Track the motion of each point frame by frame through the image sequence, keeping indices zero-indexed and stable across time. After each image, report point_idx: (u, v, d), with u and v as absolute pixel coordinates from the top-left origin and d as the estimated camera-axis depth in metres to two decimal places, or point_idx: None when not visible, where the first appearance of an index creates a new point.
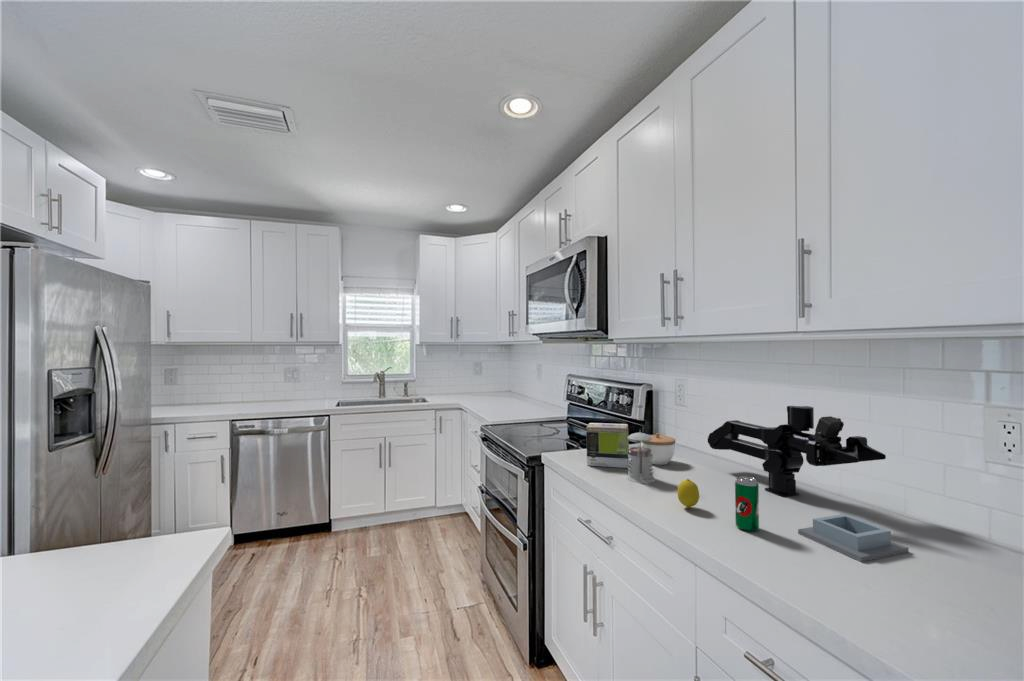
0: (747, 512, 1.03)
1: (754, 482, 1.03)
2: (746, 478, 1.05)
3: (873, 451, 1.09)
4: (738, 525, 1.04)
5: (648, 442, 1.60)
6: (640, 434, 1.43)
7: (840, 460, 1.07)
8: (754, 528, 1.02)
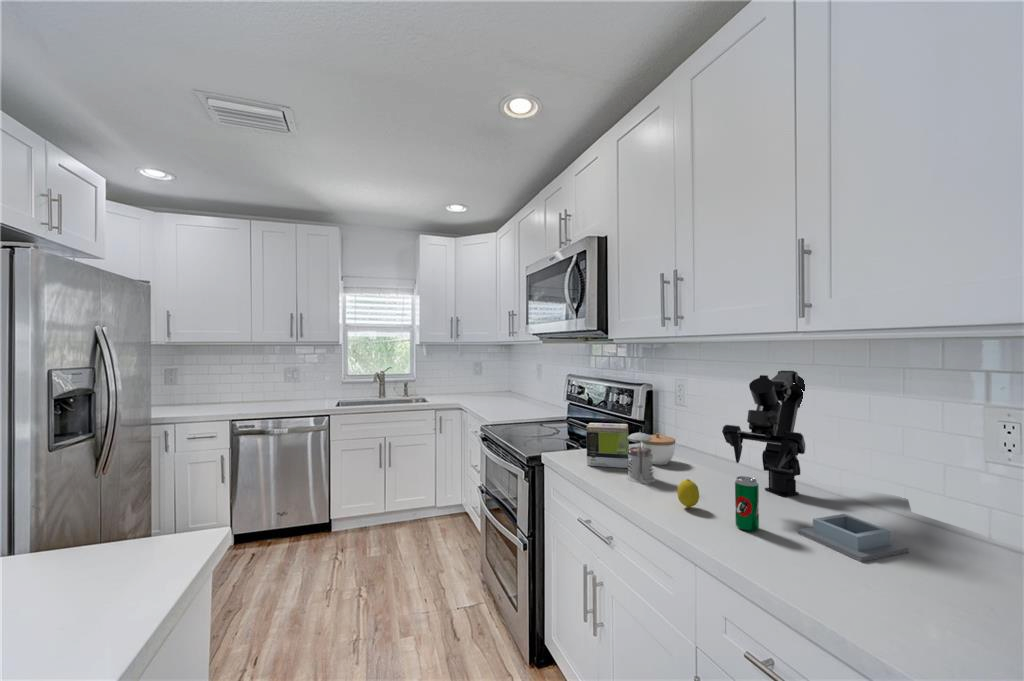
0: (747, 512, 1.03)
1: (754, 482, 1.03)
2: (746, 478, 1.05)
3: (778, 458, 1.09)
4: (738, 525, 1.04)
5: (648, 442, 1.60)
6: (640, 434, 1.43)
7: None
8: (754, 528, 1.02)
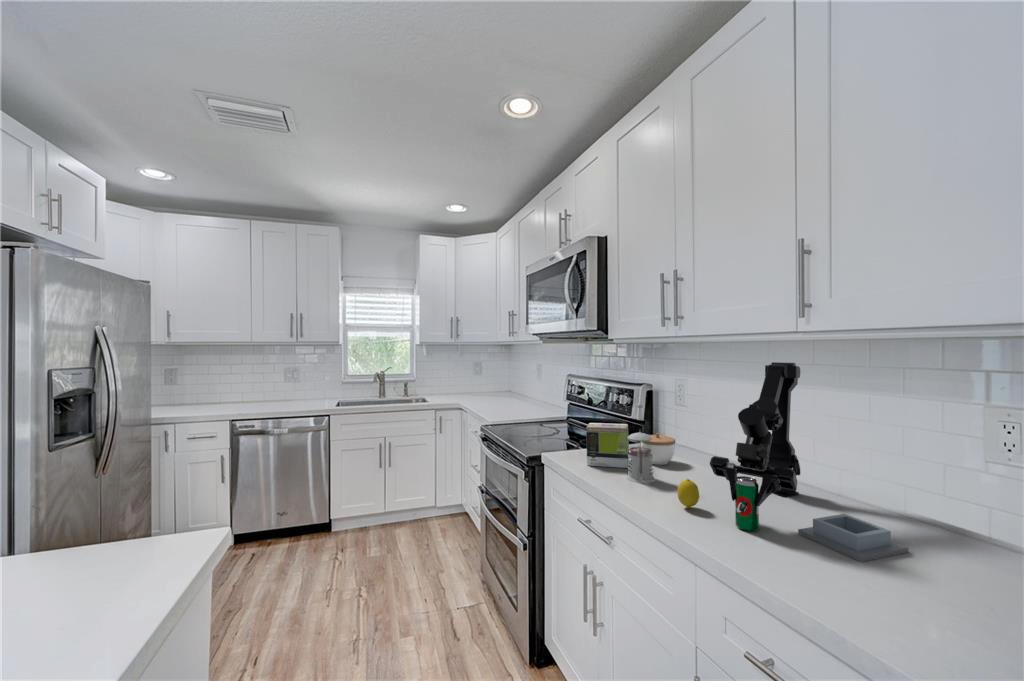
0: (747, 511, 1.03)
1: (754, 482, 1.03)
2: (746, 478, 1.05)
3: None
4: (738, 525, 1.04)
5: (648, 442, 1.60)
6: (640, 434, 1.43)
7: None
8: (754, 528, 1.02)
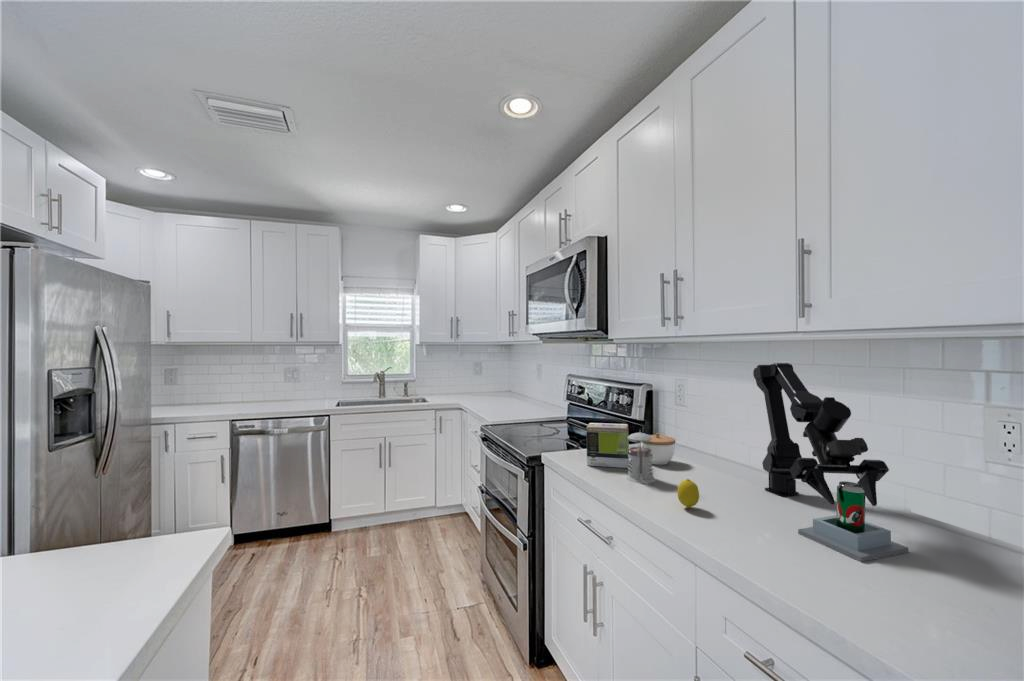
0: (861, 520, 0.95)
1: (862, 487, 0.96)
2: (849, 483, 0.97)
3: (870, 492, 0.96)
4: None
5: (648, 442, 1.60)
6: (640, 434, 1.43)
7: (819, 490, 1.00)
8: None
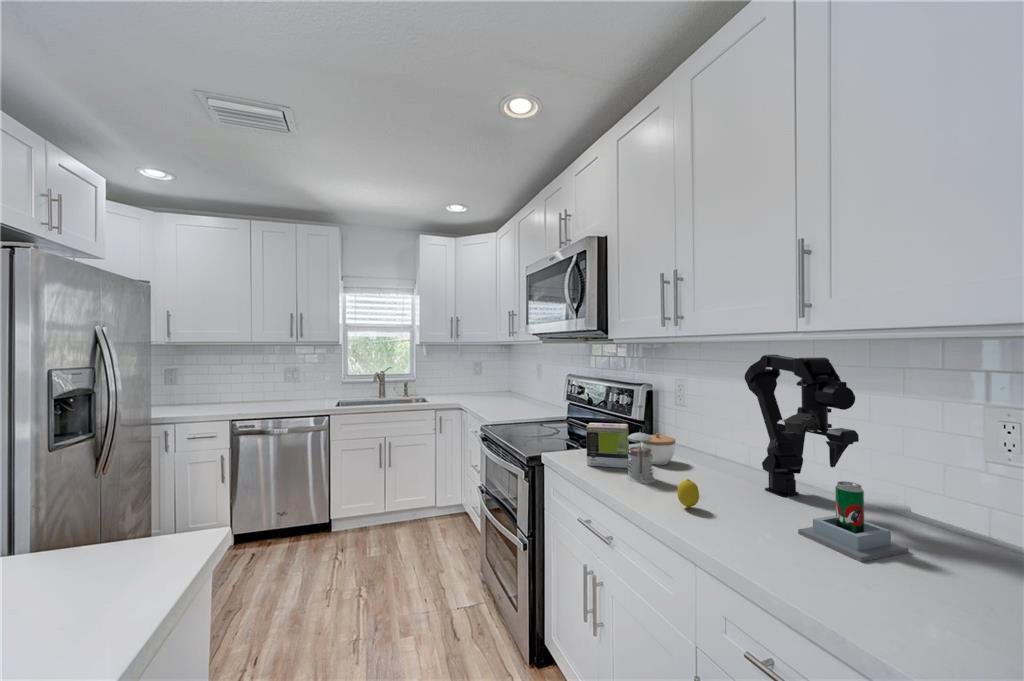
0: (860, 520, 0.95)
1: (861, 486, 0.96)
2: (847, 483, 0.98)
3: None
4: None
5: (648, 442, 1.60)
6: (640, 434, 1.43)
7: None
8: None
